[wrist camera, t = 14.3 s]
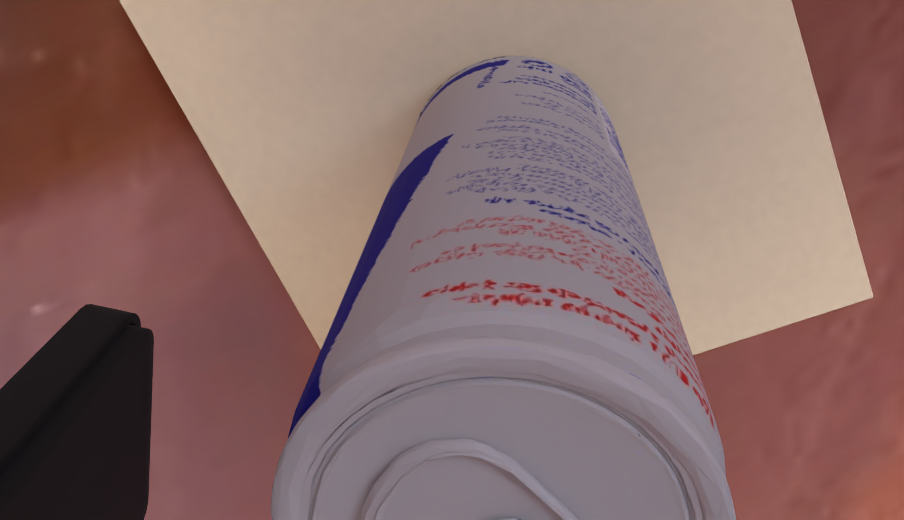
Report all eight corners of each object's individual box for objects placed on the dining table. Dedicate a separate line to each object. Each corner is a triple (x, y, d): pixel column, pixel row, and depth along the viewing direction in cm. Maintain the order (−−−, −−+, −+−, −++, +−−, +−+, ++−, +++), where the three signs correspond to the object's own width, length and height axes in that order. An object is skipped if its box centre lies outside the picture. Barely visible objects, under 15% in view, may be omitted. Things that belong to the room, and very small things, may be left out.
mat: (124, -2, 23) (118, 0, 22) (705, -297, 19) (709, -300, 19) (383, 448, 28) (381, 456, 28) (869, 291, 25) (874, 297, 24)
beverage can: (401, 60, 22) (214, 353, 9) (614, 43, 22) (761, 331, 8) (424, 251, 25) (302, 714, 11) (617, 240, 24) (735, 717, 11)
